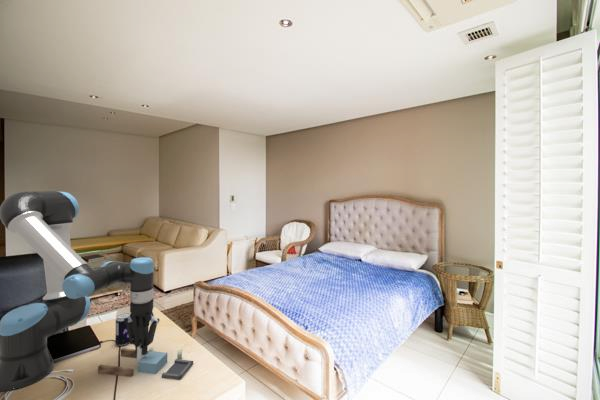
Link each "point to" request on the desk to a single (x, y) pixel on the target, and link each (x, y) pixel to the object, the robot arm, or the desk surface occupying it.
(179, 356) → the goal posts
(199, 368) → the desk surface
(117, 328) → the beverage can
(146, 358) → the block
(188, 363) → the tray
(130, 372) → the parallel brown rails
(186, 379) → the desk surface
